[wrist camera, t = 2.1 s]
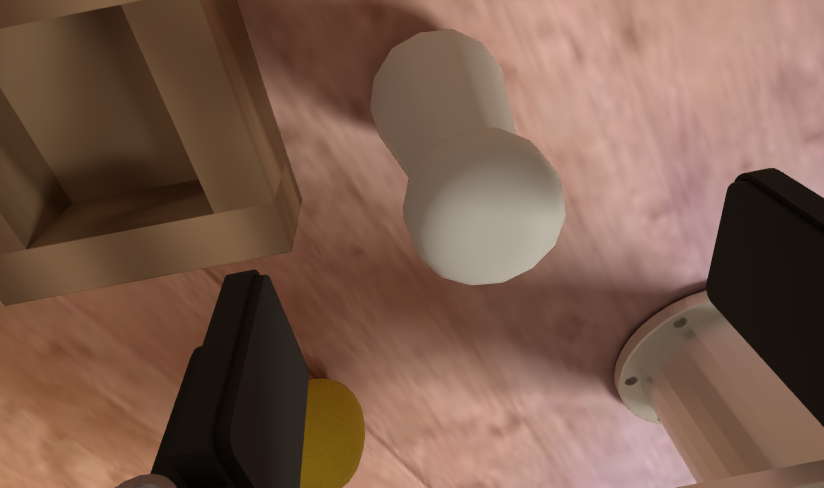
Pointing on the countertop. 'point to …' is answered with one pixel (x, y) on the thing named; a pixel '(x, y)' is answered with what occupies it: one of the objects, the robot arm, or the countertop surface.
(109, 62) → the shaker holder
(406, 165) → the salt shaker
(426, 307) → the countertop surface
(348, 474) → the lemon
